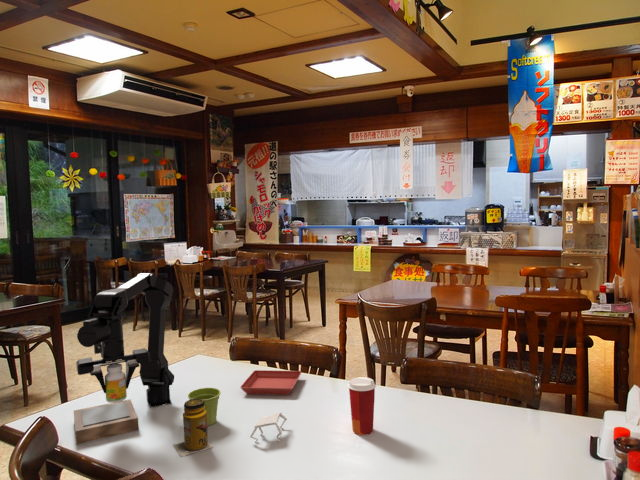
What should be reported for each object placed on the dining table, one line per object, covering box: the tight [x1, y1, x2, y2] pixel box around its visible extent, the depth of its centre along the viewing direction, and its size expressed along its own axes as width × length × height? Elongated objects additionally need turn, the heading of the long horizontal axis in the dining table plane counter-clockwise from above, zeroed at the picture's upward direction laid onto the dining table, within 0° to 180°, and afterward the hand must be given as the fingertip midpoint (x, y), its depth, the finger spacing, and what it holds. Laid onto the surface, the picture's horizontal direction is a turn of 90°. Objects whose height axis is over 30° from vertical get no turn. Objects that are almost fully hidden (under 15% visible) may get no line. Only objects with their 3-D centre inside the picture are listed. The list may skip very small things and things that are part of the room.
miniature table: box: [249, 412, 288, 444], centre depth 135 cm, size 12×8×5 cm
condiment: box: [172, 399, 214, 457], centre depth 129 cm, size 7×8×12 cm
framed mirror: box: [73, 399, 140, 446], centre depth 143 cm, size 16×16×4 cm
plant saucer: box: [240, 369, 302, 396], centre depth 172 cm, size 18×18×3 cm
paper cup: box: [346, 376, 377, 436], centre depth 135 cm, size 8×8×14 cm
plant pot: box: [187, 387, 222, 426], centre depth 144 cm, size 9×9×9 cm
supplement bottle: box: [104, 363, 128, 404], centre depth 138 cm, size 5×5×10 cm
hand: (116, 390), depth 139 cm, fingers closed on supplement bottle, 5 cm apart
